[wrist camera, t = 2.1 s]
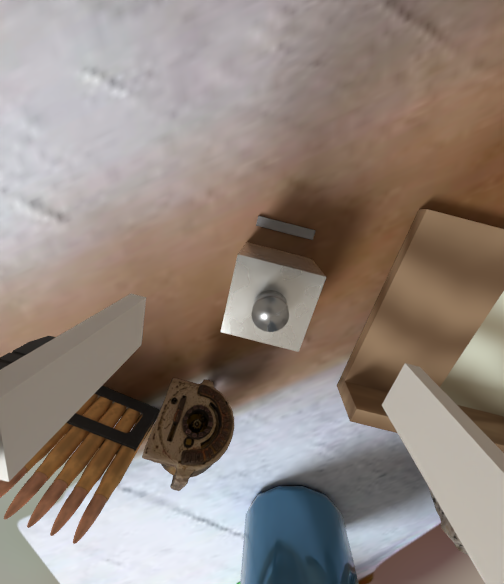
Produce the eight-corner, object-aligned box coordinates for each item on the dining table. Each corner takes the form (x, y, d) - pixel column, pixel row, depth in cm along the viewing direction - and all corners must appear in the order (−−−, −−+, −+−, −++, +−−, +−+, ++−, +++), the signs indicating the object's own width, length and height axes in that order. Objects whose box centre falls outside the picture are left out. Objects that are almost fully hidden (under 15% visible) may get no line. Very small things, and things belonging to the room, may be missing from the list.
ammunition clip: (160, 409, 28) (88, 541, 17) (156, 419, 29) (83, 553, 18) (75, 374, 28) (-59, 489, 16) (73, 385, 28) (-59, 504, 17)
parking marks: (258, 215, 20) (258, 215, 20) (314, 230, 20) (315, 230, 20) (232, 324, 24) (232, 325, 24) (280, 336, 24) (280, 337, 24)
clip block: (246, 241, 21) (234, 258, 14) (311, 258, 21) (332, 283, 14) (232, 301, 23) (216, 342, 16) (291, 316, 23) (301, 364, 16)
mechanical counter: (243, 358, 25) (227, 449, 16) (237, 444, 29) (221, 555, 20) (177, 351, 25) (122, 435, 16) (181, 437, 30) (139, 543, 20)
